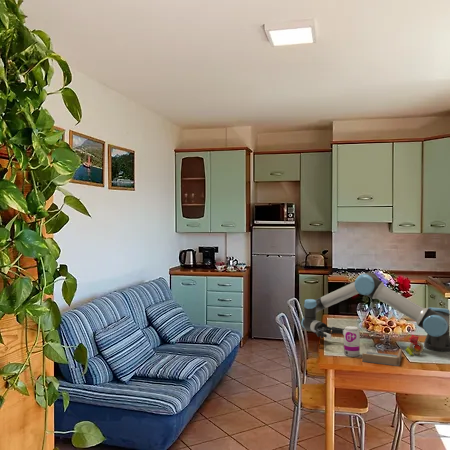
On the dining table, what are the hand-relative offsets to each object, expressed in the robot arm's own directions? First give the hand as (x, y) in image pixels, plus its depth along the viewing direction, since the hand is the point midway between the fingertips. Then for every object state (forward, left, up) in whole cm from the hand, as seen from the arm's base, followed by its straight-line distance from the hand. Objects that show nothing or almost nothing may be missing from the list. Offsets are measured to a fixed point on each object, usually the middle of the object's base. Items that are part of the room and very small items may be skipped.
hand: (340, 336), depth 255 cm
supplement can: (-7, +6, -8) cm, 13 cm away
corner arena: (-23, +7, -8) cm, 26 cm away
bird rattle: (-38, -8, -8) cm, 40 cm away
